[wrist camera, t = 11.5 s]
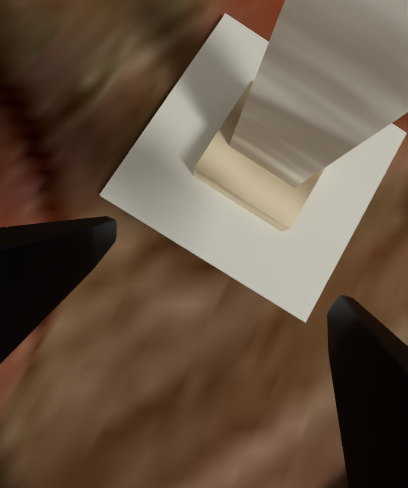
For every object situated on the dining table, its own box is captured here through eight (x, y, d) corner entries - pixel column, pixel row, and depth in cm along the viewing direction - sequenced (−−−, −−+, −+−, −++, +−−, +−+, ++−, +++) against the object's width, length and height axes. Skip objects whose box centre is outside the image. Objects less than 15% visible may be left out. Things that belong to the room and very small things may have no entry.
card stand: (281, 231, 18) (527, 154, 5) (193, 175, 18) (218, -54, 5) (329, 148, 19) (640, -95, 6) (245, 94, 19) (385, -281, 6)
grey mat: (302, 320, 18) (305, 322, 18) (101, 196, 18) (99, 195, 17) (401, 136, 20) (406, 133, 20) (224, 19, 20) (225, 13, 19)
